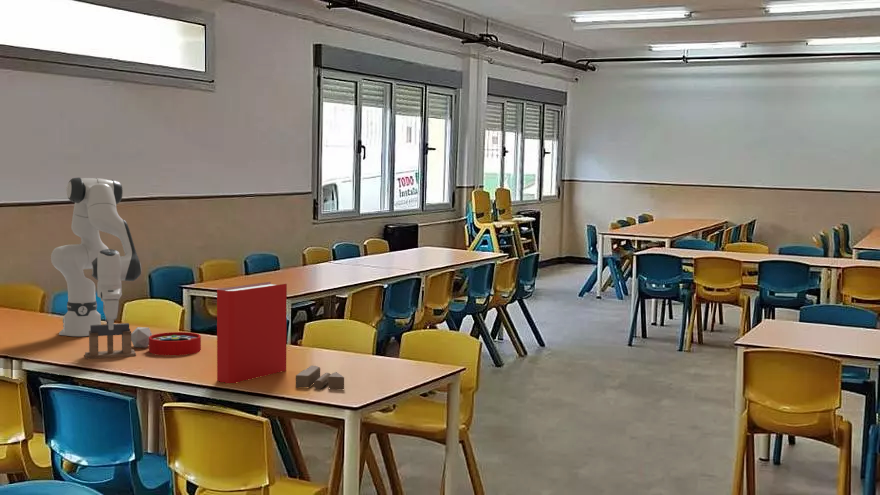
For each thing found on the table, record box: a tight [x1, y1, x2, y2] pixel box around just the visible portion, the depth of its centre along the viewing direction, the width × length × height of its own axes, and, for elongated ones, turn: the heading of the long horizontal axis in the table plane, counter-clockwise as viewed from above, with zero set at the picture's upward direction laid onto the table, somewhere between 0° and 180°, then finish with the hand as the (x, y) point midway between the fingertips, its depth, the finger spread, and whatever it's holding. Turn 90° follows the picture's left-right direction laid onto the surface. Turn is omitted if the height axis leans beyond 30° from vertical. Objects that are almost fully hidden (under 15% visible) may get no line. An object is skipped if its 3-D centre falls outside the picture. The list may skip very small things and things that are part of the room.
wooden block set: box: [295, 365, 345, 390], centre depth 324 cm, size 17×6×18 cm
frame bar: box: [90, 322, 130, 337], centre depth 362 cm, size 2×14×4 cm, turn 115°
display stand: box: [84, 328, 137, 360], centre depth 363 cm, size 8×18×10 cm, turn 113°
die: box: [131, 326, 153, 349], centre depth 381 cm, size 8×9×10 cm
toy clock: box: [148, 331, 202, 356], centre depth 375 cm, size 20×6×20 cm
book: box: [216, 281, 288, 384], centre depth 332 cm, size 27×8×32 cm, turn 147°
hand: (110, 327), depth 362 cm, fingers open, 8 cm apart
